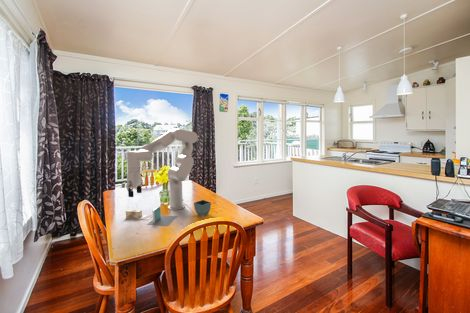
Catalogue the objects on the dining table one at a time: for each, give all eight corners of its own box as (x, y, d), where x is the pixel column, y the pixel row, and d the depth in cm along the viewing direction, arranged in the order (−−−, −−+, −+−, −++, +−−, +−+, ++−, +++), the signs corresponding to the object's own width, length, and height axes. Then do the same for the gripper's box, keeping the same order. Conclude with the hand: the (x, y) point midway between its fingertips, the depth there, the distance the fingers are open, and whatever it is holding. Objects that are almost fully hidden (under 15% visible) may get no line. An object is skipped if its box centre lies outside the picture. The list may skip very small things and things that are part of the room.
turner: (124, 219, 150) (123, 212, 149) (130, 215, 157) (129, 208, 156) (148, 220, 148) (147, 213, 147) (153, 216, 155) (152, 209, 154)
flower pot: (201, 218, 152) (201, 205, 151) (193, 214, 158) (193, 202, 157) (211, 214, 158) (211, 202, 157) (203, 211, 164) (203, 199, 163)
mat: (158, 216, 156) (158, 215, 156) (177, 216, 154) (177, 216, 154) (146, 225, 140) (146, 224, 140) (167, 226, 138) (167, 226, 138)
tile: (158, 217, 152) (158, 206, 151) (160, 217, 151) (160, 206, 150) (152, 222, 144) (152, 210, 143) (155, 222, 144) (154, 210, 143)
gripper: (136, 167, 158) (137, 191, 160) (120, 171, 141) (122, 198, 143) (146, 167, 157) (147, 191, 159) (131, 172, 140) (133, 198, 142)
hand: (135, 194), depth 151 cm, fingers open, 9 cm apart
